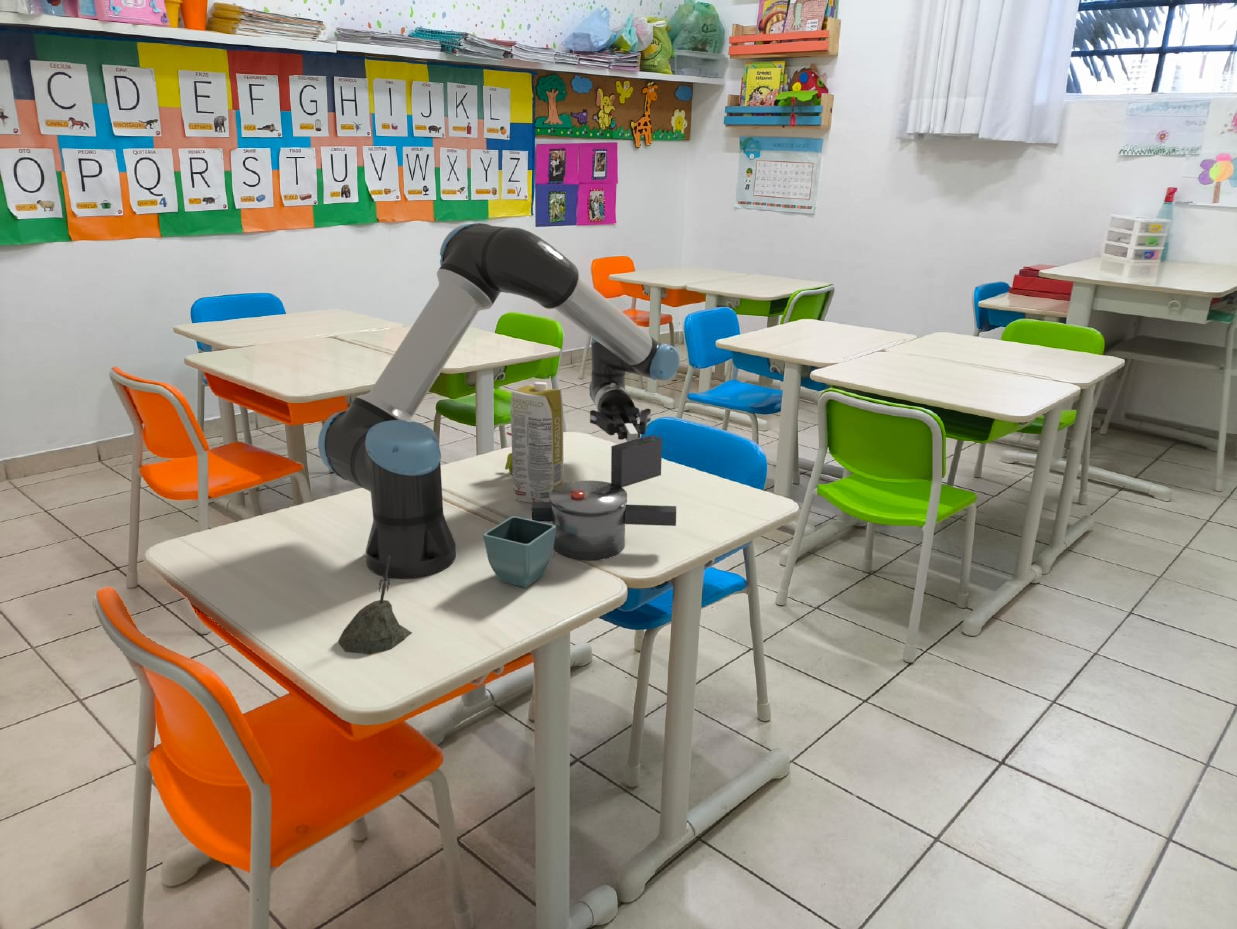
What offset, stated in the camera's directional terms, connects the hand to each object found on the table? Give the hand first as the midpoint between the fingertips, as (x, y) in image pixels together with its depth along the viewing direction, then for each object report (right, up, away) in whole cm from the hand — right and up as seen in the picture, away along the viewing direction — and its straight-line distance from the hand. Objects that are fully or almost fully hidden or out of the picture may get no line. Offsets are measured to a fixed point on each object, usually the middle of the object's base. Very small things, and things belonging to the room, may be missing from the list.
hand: (634, 440), depth 165 cm
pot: (-6, -19, -7) cm, 21 cm away
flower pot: (-19, -24, -20) cm, 36 cm away
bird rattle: (-23, -7, +26) cm, 36 cm away
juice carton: (-19, -12, +13) cm, 26 cm away
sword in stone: (-38, -30, -38) cm, 62 cm away
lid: (-5, -10, -7) cm, 13 cm away
